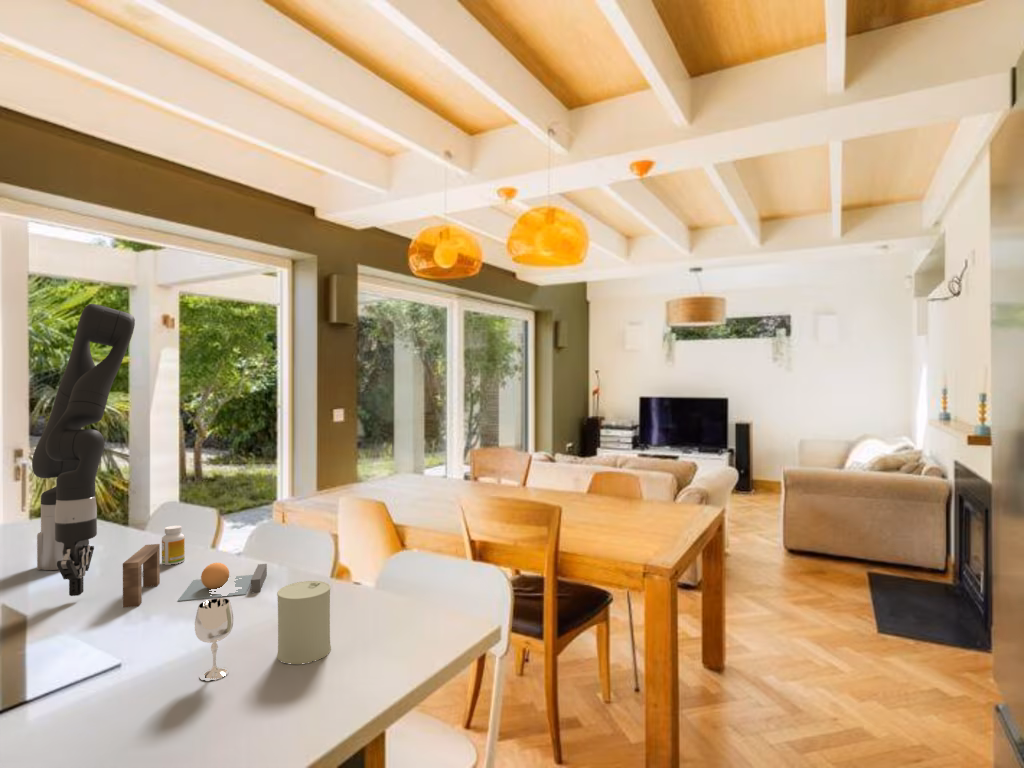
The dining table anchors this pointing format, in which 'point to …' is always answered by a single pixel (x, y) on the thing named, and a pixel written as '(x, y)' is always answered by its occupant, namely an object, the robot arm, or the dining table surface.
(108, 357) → the robot arm
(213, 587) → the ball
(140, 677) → the dining table surface
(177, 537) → the supplement bottle
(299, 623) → the can
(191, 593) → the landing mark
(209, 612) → the wineglass
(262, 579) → the stopper
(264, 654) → the dining table surface
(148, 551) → the bridge
